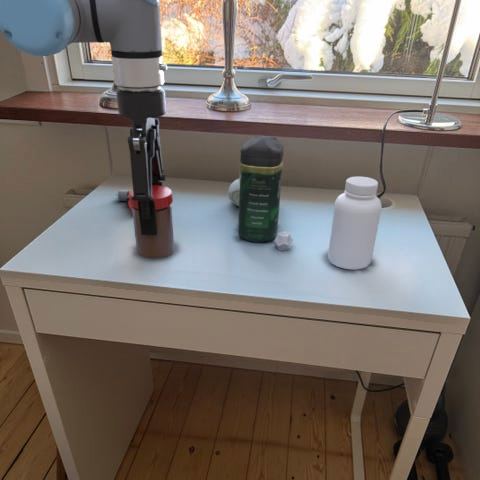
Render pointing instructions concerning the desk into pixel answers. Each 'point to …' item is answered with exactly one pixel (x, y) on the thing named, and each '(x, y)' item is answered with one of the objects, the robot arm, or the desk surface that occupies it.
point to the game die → (283, 241)
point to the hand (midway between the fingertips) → (153, 224)
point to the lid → (156, 197)
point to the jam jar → (158, 243)
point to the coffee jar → (260, 188)
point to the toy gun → (124, 197)
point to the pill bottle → (355, 224)
